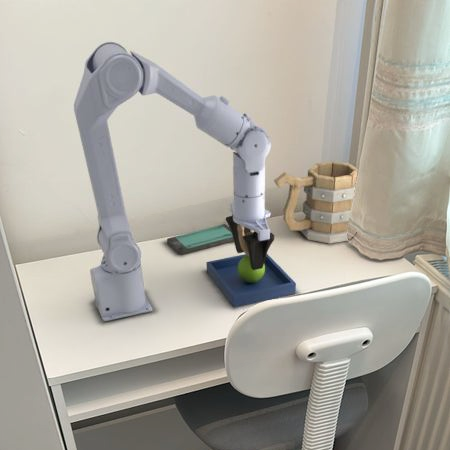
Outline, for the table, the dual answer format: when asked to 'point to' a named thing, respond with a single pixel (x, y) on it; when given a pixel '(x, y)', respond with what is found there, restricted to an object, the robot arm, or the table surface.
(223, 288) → the tray
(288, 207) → the tankard
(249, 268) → the snail figurine
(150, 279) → the table surface
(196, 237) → the smartphone
